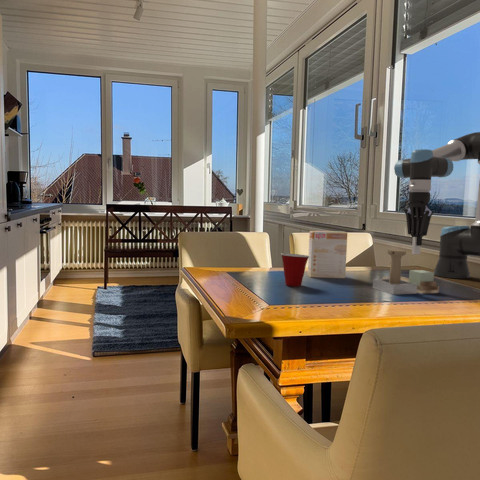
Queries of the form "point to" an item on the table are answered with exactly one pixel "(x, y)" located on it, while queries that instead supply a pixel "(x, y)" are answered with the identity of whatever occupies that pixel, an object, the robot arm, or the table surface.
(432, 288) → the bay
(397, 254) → the handle
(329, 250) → the coffeecake box
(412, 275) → the pale green cube
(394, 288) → the winch housing
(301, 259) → the plastic cup
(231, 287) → the table surface
